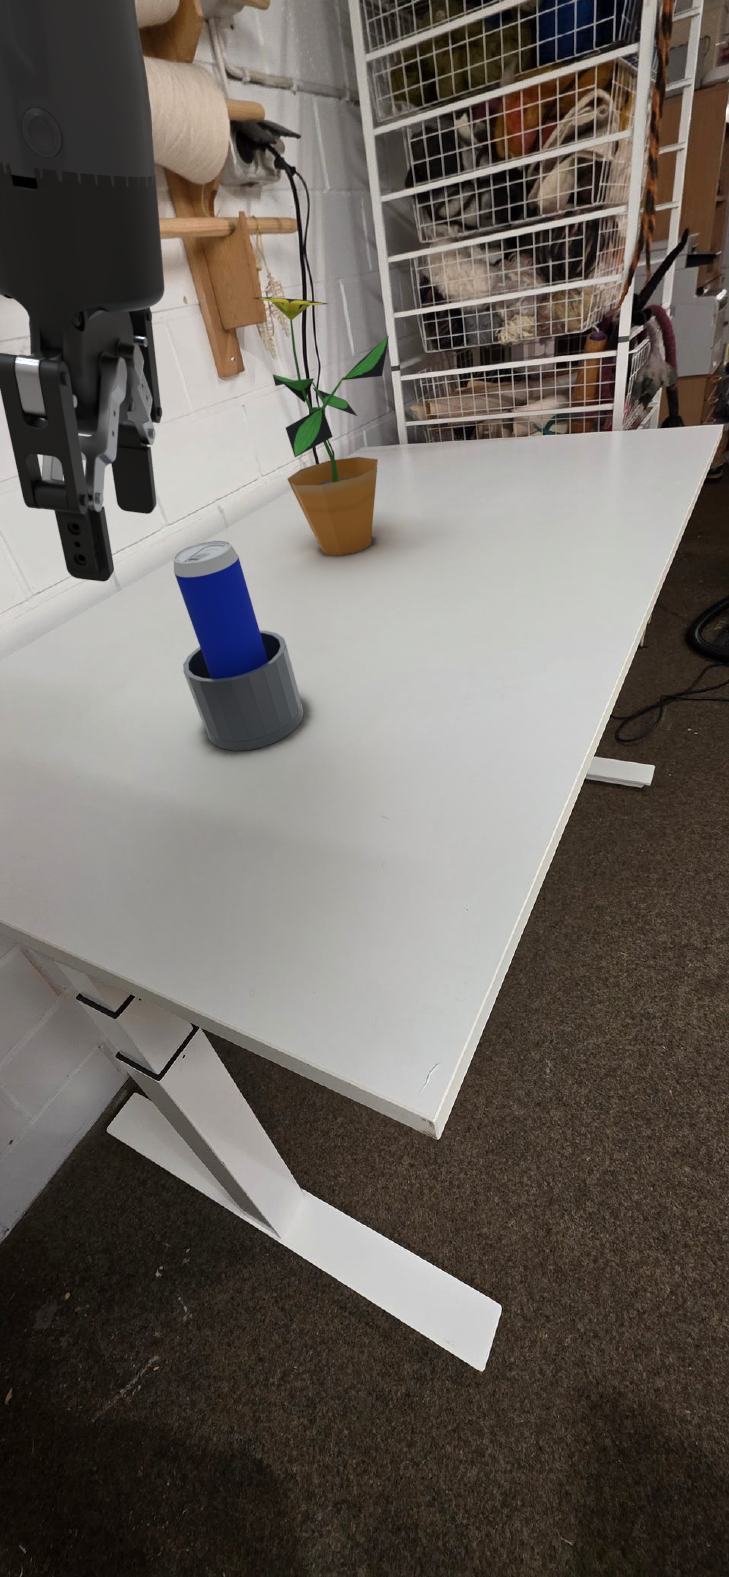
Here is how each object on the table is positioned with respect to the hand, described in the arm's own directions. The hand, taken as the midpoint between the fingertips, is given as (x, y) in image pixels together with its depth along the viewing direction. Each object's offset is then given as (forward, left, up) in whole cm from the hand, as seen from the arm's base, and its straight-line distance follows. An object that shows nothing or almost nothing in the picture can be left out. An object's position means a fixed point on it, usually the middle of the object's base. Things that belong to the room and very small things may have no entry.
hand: (116, 541), depth 38 cm
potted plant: (+22, +54, -22) cm, 62 cm away
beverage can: (+4, +13, -21) cm, 25 cm away
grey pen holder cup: (+4, +13, -21) cm, 26 cm away
